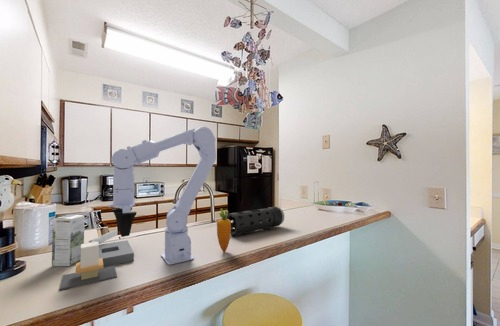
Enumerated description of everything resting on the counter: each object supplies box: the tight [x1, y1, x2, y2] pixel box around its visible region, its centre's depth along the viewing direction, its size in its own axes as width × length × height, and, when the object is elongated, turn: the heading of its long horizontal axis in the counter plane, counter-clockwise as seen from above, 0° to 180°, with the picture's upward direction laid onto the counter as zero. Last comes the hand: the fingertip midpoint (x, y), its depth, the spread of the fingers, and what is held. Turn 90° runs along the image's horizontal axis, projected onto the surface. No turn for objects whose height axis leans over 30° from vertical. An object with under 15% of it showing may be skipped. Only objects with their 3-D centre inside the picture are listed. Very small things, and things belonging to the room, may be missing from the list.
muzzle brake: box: [226, 206, 285, 237], centre depth 108 cm, size 10×28×10 cm, turn 126°
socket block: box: [99, 239, 135, 267], centre depth 77 cm, size 16×12×2 cm
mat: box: [59, 265, 118, 291], centre depth 63 cm, size 9×12×1 cm
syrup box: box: [51, 214, 85, 267], centre depth 73 cm, size 6×6×14 cm
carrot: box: [216, 208, 232, 253], centre depth 81 cm, size 5×5×15 cm
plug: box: [74, 241, 103, 280], centre depth 63 cm, size 6×6×8 cm
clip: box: [88, 229, 118, 245], centre depth 84 cm, size 2×15×3 cm, turn 1°
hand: (123, 233), depth 72 cm, fingers open, 7 cm apart
